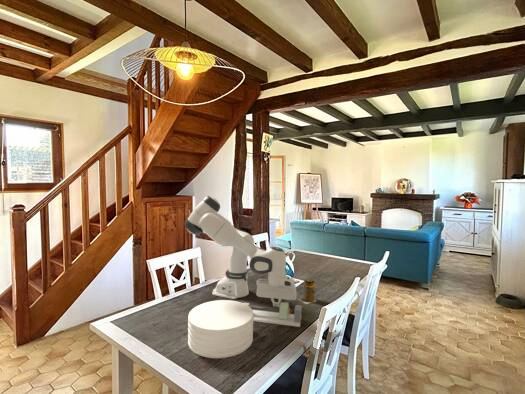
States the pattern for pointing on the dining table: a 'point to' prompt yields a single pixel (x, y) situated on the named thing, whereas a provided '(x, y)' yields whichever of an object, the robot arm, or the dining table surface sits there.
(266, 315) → the white slider rail
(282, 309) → the pale green block
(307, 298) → the condiment
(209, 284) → the dining table surface
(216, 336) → the plate stack
